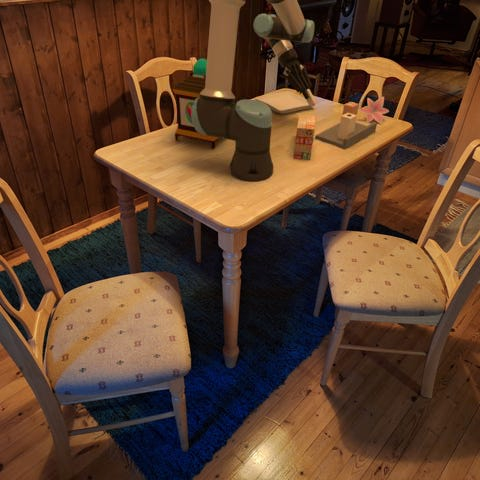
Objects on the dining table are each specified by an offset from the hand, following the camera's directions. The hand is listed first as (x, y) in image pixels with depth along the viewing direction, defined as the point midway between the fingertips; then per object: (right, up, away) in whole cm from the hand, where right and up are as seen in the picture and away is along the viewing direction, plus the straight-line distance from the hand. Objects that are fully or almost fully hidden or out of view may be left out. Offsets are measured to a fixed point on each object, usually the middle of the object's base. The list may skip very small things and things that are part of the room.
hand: (313, 104), depth 170 cm
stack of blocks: (-5, -19, -8) cm, 22 cm away
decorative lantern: (-44, -14, -3) cm, 46 cm away
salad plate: (-9, +8, +29) cm, 31 cm away
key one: (+12, -14, -4) cm, 19 cm away
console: (+14, -12, +2) cm, 18 cm away
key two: (+16, -7, +6) cm, 18 cm away
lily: (+29, -2, +16) cm, 33 cm away
